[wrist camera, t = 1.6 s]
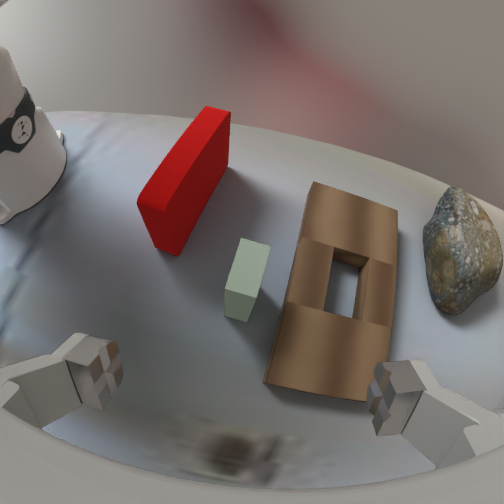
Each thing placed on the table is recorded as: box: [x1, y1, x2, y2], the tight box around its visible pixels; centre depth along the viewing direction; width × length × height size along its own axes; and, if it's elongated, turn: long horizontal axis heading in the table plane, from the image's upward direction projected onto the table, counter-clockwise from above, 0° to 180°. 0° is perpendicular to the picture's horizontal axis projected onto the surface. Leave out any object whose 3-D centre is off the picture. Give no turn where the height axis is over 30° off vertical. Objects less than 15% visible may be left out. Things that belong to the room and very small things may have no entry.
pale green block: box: [224, 238, 271, 322], centre depth 27 cm, size 2×4×10 cm, turn 165°
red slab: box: [137, 106, 231, 256], centre depth 32 cm, size 15×3×10 cm, turn 160°
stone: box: [423, 186, 503, 315], centre depth 33 cm, size 14×19×8 cm
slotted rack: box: [263, 181, 398, 402], centre depth 32 cm, size 12×24×3 cm, turn 165°
